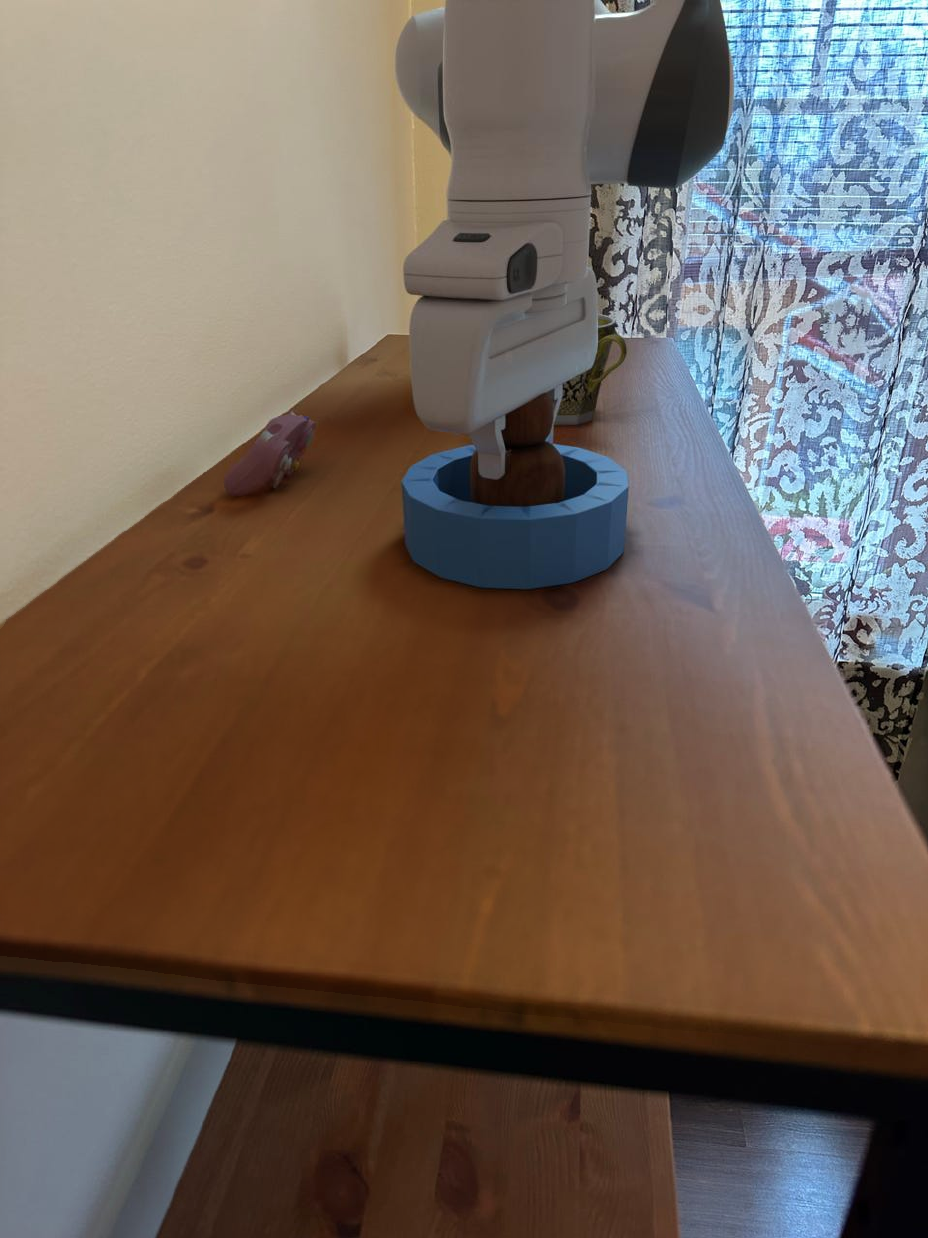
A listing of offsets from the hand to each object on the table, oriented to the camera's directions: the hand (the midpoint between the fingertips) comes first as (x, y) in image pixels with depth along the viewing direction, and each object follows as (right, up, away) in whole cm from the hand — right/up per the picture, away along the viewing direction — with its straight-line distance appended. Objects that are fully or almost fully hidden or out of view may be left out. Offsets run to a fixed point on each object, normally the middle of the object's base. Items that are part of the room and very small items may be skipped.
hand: (517, 461), depth 59 cm
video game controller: (-21, +1, +16) cm, 26 cm away
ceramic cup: (+8, +10, +30) cm, 33 cm away
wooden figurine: (0, -5, +3) cm, 6 cm away
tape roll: (0, -5, +3) cm, 6 cm away
